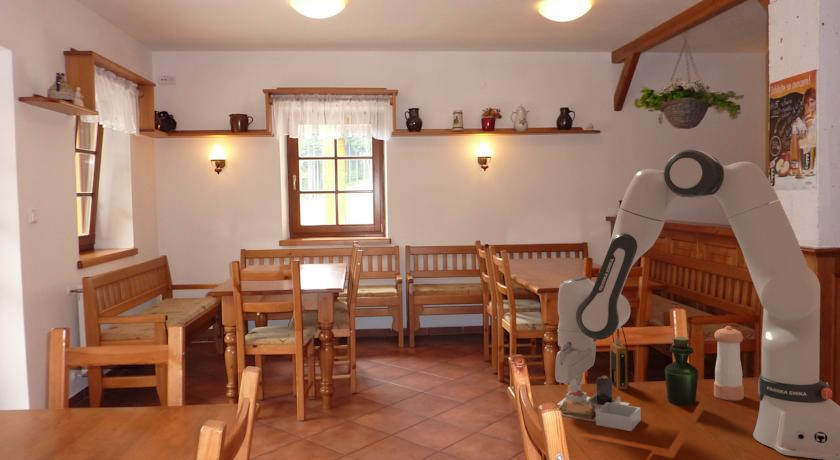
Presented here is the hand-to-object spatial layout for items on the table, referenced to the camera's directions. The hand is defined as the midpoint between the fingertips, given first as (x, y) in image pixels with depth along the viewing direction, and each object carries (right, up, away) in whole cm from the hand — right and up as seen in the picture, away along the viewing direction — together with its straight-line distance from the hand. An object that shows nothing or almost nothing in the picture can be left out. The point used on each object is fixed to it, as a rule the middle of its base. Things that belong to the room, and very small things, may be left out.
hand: (575, 391), depth 167 cm
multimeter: (+19, -3, +13) cm, 23 cm away
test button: (0, -2, 0) cm, 2 cm away
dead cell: (+6, -3, -4) cm, 8 cm away
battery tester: (+4, -4, -2) cm, 6 cm away
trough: (-2, -5, -9) cm, 11 cm away
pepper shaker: (+43, -3, +5) cm, 43 cm away
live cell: (-2, -4, -9) cm, 10 cm away
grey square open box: (+6, -5, -16) cm, 18 cm away
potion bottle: (+27, -4, -2) cm, 27 cm away
